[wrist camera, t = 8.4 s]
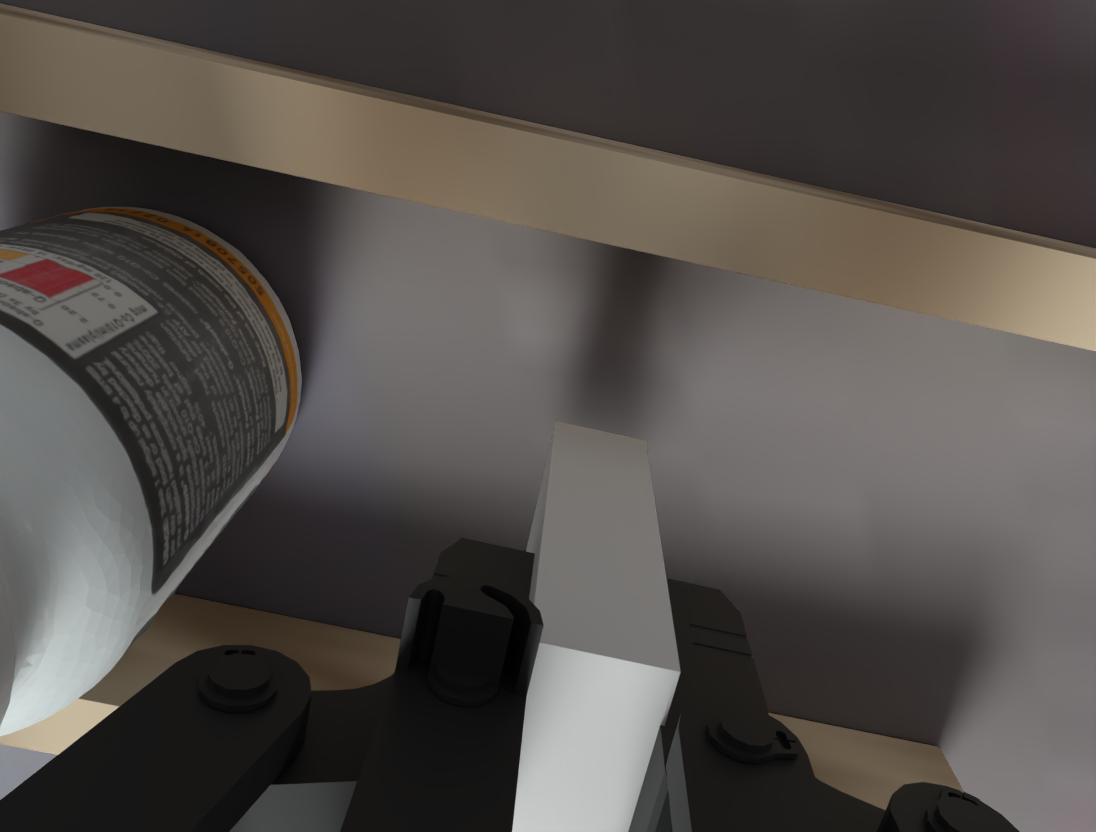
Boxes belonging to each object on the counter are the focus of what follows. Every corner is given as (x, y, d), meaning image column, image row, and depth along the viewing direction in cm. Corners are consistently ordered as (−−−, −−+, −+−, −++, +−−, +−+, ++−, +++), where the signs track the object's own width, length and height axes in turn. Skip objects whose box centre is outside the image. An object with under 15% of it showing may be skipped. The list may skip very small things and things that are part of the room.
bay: (-267, 558, 19) (-548, 715, 14) (-313, -67, 15) (-714, -138, 11) (919, 793, 20) (1026, 1012, 15) (1143, 258, 16) (1376, 327, 11)
